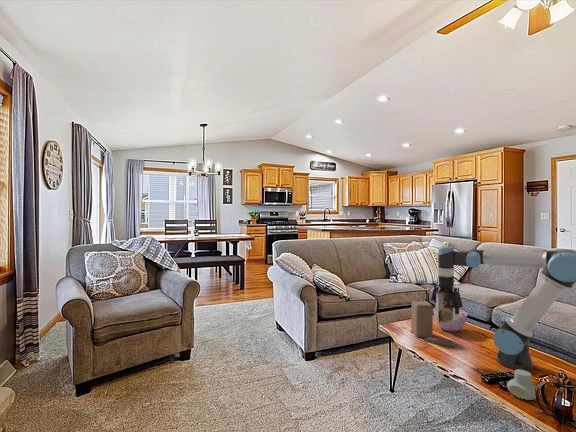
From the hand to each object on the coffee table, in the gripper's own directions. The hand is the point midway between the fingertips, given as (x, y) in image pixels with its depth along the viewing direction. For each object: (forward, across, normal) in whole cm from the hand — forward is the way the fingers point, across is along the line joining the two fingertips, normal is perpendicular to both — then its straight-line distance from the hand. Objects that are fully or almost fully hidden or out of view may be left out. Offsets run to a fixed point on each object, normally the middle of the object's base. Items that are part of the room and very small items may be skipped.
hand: (446, 317), depth 175 cm
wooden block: (+20, +27, -11) cm, 35 cm away
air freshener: (+21, -40, +4) cm, 46 cm away
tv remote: (+21, +13, -10) cm, 26 cm away
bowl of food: (+21, +26, -35) cm, 48 cm away
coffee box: (+3, 0, 0) cm, 3 cm away
